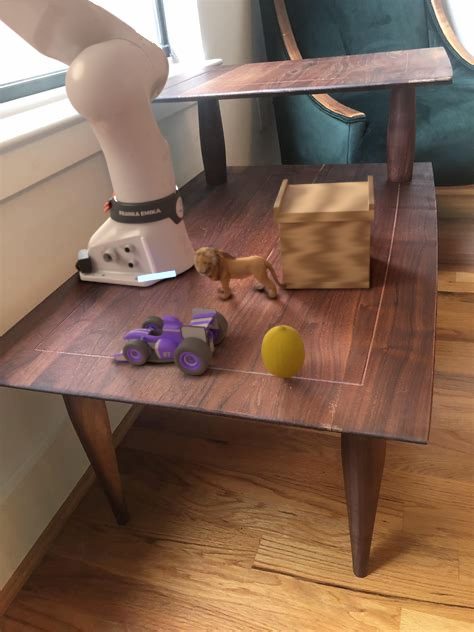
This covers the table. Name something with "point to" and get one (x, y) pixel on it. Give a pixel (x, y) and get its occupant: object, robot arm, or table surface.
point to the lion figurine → (234, 269)
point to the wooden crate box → (325, 234)
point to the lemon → (283, 351)
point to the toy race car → (176, 340)
